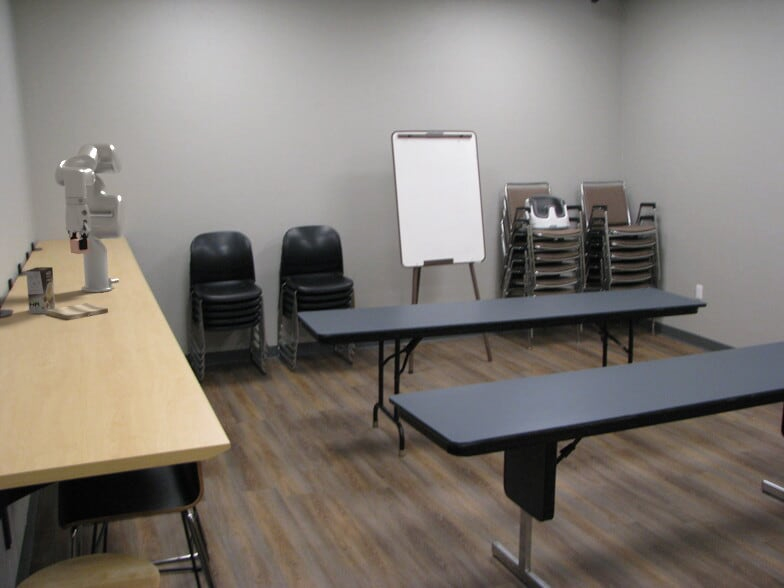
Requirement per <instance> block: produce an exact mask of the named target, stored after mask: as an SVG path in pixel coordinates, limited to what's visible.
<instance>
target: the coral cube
mask: <svg viewBox="0 0 784 588" xmlns="http://www.w3.org/2000/svg"><path fill="white" fill-rule="evenodd" d="M79 240H80V238H78V239H73V240H70V239H69V245H70V247H69V248H70V253H71V254H76V255H82V254H83V253H89V252H90V244H89V239H87V245H88V249H87V250H79Z"/></svg>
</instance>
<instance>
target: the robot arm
mask: <svg viewBox="0 0 784 588" xmlns="http://www.w3.org/2000/svg"><path fill="white" fill-rule="evenodd" d="M122 168H123V162H122V159H121V156H120V154H119V152H118V150H117V148H116V146H114V145H113V144H112V143H107V142H106V143H105V142H104V143H103V142H87V143H84V144H82V146H80V147H79V150H78V152H77V154H76V155H73V156H71V157H69V158H66V159H64V160H61V161H60V162H59V163H58V165H57V167H56V169H55V172H54V181H55V182H56V184H57V185H58V186H60V187H64V199H65V230H66V231H67V234H68V237H69V241H70V240H73V239H80V240H79V250H87V249H88V245H87V239H89V244H90V252H89V253H83V256H82V257H83V272H84V286H82V287H81V291H82V292H85V293H101V292H102V293H103V292H110V291H112V290H113V289H114V286H113V284H119V282H120V281H119V278H113V279H112V278H110V277H109V263H108V261H109V260H108V249H107V247H106V244H105V243H104V242H103V241H102V240H103V239H104V240H105V239H106V240H109V239H111V240H116V239H120V238H122V237H123V235H124V227H125V226H124V225H125V201H124V198H123V197H122V196H121V195H119V194H116V193H114V194H113V193H112V194H111V193H109V194H108V186H107V183H106V182H105V180H103V179H102V178H101V176H99V175H101V174H102V175H103V174H107V175H109V174H110V175H111V174H112V175H115V174H116V175H117V174H119V173H120V172H121V171H122ZM98 174H99V175H98Z"/></svg>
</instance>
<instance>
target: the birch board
mask: <svg viewBox="0 0 784 588" xmlns="http://www.w3.org/2000/svg"><path fill="white" fill-rule="evenodd" d="M105 312H107V313H109V308H107V307H103V306H99V305H95V304H91V303H87V302H86V303H85V302H84V303H80V304H73V305H68V306H67V305H66V306H62V307H57V308H56V307H55V309H50V310H47V313H46V314H47V315H49V316H52V317H57V318H61V319H65V320H67V319H68V321H69V320H74V318H76V319H79V318H78V317H81V318H84V317H83V316H86V317H89V316H88V315H91V316H94V315H93V314H96V315H100V313H102V314H106V313H105Z"/></svg>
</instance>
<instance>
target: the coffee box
mask: <svg viewBox="0 0 784 588" xmlns="http://www.w3.org/2000/svg"><path fill="white" fill-rule="evenodd" d="M25 272H26V283H27V297H28V298H27V299H28V300H27V301H28V312H29V314H47V310H50V309H56V303H55V300H56V299H55V287H54V285H55V284H54V273H53V272H54V271H53V267H50V266H49V267H48V266H45V267H43V266H40V267H39V266H38V267H36V266H35V267H33V268H30V269H28V270H26V271H25Z"/></svg>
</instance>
